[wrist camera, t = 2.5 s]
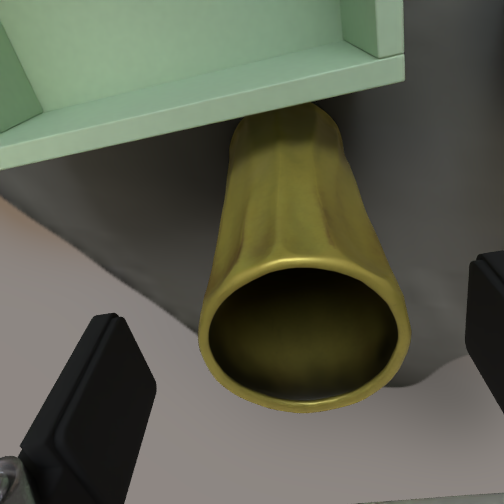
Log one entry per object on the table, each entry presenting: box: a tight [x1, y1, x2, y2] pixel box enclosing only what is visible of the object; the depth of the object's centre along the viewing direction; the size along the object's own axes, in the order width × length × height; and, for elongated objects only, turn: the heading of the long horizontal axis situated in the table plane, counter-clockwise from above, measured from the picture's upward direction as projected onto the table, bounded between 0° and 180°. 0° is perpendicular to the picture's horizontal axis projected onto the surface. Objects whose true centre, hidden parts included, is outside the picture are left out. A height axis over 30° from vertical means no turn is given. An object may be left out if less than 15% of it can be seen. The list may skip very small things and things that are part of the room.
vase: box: [198, 102, 411, 413], centre depth 16 cm, size 6×6×14 cm
